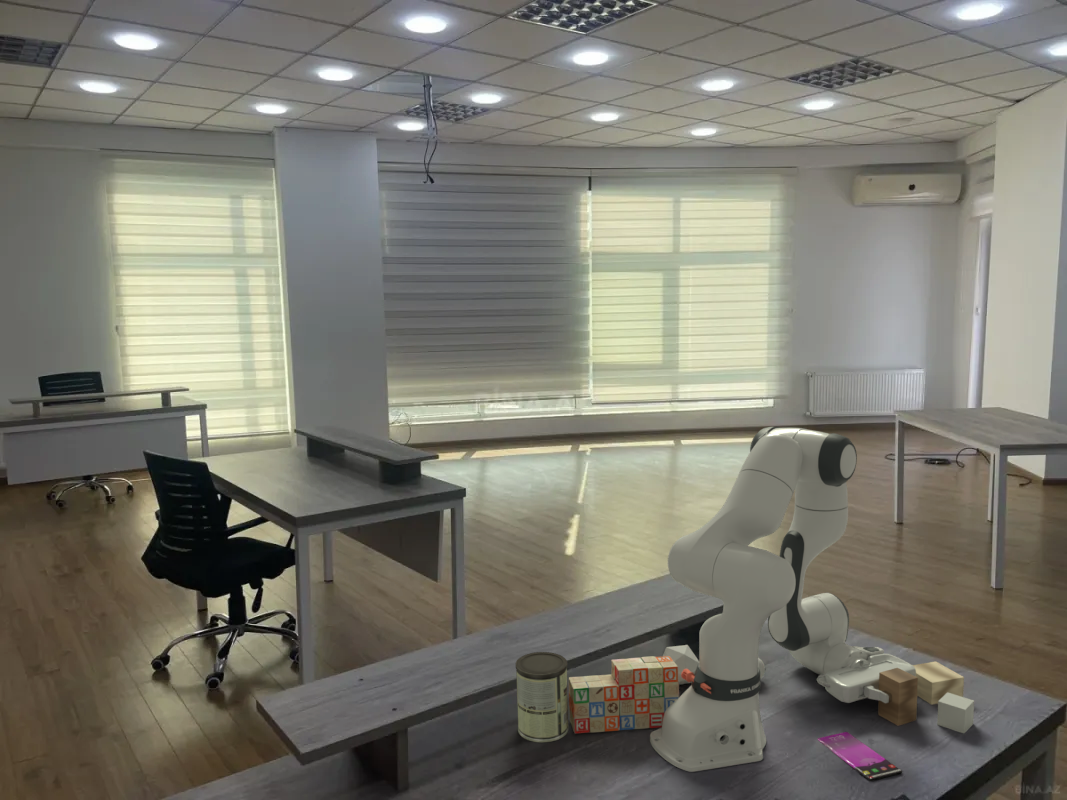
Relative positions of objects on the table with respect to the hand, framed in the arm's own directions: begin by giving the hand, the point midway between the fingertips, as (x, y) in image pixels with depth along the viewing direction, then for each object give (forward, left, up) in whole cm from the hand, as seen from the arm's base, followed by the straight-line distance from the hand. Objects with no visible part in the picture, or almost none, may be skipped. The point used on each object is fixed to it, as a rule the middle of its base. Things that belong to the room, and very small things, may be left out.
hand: (901, 695), depth 164 cm
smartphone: (-17, -6, -6) cm, 19 cm away
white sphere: (-15, +28, -5) cm, 32 cm away
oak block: (+15, +5, -5) cm, 17 cm away
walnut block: (0, +1, -5) cm, 5 cm away
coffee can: (-66, +29, -5) cm, 72 cm away
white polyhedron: (-30, +34, -5) cm, 46 cm away
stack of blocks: (-51, +23, -5) cm, 56 cm away
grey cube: (+8, -6, -5) cm, 11 cm away
